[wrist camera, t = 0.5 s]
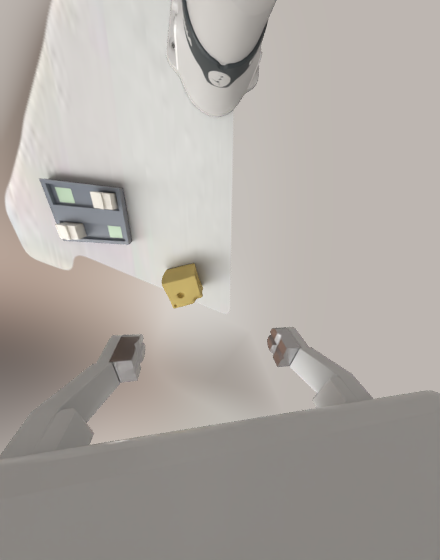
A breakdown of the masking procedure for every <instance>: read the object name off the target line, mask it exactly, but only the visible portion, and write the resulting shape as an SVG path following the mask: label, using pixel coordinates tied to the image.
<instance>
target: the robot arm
mask: <svg viewBox="0 0 440 560" xmlns="http://www.w3.org/2000/svg"><path fill="white" fill-rule="evenodd" d="M275 2H276V0H171V10H170V20H169V30H168V40H167V59H168V62H169V64H170V65H171V67H172V68H173V69H174V71H175V72H176V73H177V74H178V75H179V77H180V79H181V81H182V83H183V86H184V88H185V91H186V93H187V95H188V96H189V98H190V100H191V101H192V103H193V104H194V105H195V106H196V107H197V108H198V109H199V110H200V111H202V112H203V113H205V114H207V115H209V116H214V117H219V116H224V115H226V114H228V113H230V112H231V111H232V110H233V109H234V108H235V107H236V106H237V105H238V103H239V102H240V100H241V99H242V97H243V95H244V94H245V93H247V92H249V91H250V90H251V89H253V88H254V87H255V85H256V84H257V81H258V75H259V74H258V73H259V62H260V60H261V56H262V52H261V42H262V40H263V36H264V33H265V30H266V26H267V22H268V18H269V16H270V13H271V11H272V9H273V7H274V4H275ZM173 44H174V45H175V49H174V48H173V47H172V45H173ZM270 333H271V335H270V336H269V337H268V339H267V344H268V348H269V350H270V351H271V352H272V353H273V358H274V360H275V363H276V365H277V367H282V366H290V368H292V370H294V372H296V373H297V374H298V375H299V376H300V377H301V378H302V379H303V380H304V381H305V382H306V383H307V384H308V385H309V386H310V387H311V388H312V389H313V390H315V392H316V393H317V394H316V395H315V397H314V398H313V402H314V404H315V406H316V408H315V409H309V410H302V411H296V412H290V413H284V414H278V415H272V416H266V417H259V418H253V419H247V420H241V421H234V422H228V423H222V424H216V425H209V426H203V427H197V428H191V429H185V430H179V431H172V432H166V433H160V434H154V435H148V436H142V437H135V438H129V439H123V440H117V441H110V442H104V443H98V444H92V445H90V442H91V439H92V437H93V434H94V433H93V431H92V430H91V429H90V427H89V426H88V425H87V422H88V421H89V419H90V418H91V417H92V416H93V415H94V414H95V412H96V411H97V410H98V409H99V408H100V407H101V405H102V404H103V403H104V402H105V401H106V400H107V398H108V397H109V396H110V395H111V394H112V393H113V391H114V390H115V389H116V388H117V387H118V386H119V384H120V383H121V382H130V381H137V380H138V377H139V373H140V370H141V367H140V363H141V362H142V361H143V359H144V355H145V344H144V343H143V339H144V338H143V335H142V334H140V335H113V336H112V337H111V338H110V339H109V341H108V343H107V345H106V346H105V348H104V350H103V352H102V354H101V356H100V357H99V359H98V361H97V363H95V364H92V365H91V366H89V367H88V368H87V369H85V370H84V371H83V372H82V373H80V374H79V375H78V376H77V377H75V378H74V379H73V380H71V381H70V382H69V383H68V384H66V385H65V386H64V387H63V388H61V389H60V390H59V391H57V392H56V393H55V394H54V395H52V396H51V397H50V398H49V399H47V400H46V401H45V402H44V403H42V404H41V405H40V406H38V407H37V408H36V409H34V410H33V411H32V412H31V413H30V415H29V416H28V417H27V419H26V420H25V422H24V423H23V424H22V426H21V427H20V428H19V430H18V431H17V433H16V434H15V435H14V437H13V438H12V440H11V441H10V442H9V444H8V445H7V446H6V448H5V449H4V451H3V452H2V453H1V455H0V560H440V394H439V393H437V392H434V391H420V392H414V393H408V394H402V395H396V396H389V397H383V398H377V399H373V398H372V397H371V395H370V394H369V393H368V392H367V391H366V390H365V388H364V387H363V386H362V385H361V384H360V383H359V381H358V380H357V379H356V378H355V377H354V376H353V374H351V373H350V372H348V371H346V370H345V369H344V368H342V367H341V366H339V365H338V364H336V363H335V362H333V361H331V360H330V359H328V358H327V357H325V356H324V355H322V354H321V353H319V352H317V351H316V350H314V349H313V348H312V347H309V346H308V345H307V344H306V342H305V341H304V340H303V338H302V337H301V335H300V334H299V333H298V331H297V330H296V329H295V328H294V327H287V328H286V327H284V328H272V329H271V331H270Z"/></svg>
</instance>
